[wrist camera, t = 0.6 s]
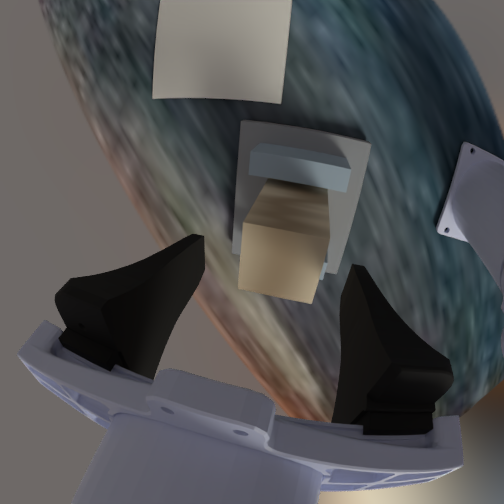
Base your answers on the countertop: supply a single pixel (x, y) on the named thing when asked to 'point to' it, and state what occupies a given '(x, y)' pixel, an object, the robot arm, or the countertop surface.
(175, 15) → the mat
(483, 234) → the robot arm
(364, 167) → the vise
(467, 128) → the countertop surface
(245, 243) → the peg
